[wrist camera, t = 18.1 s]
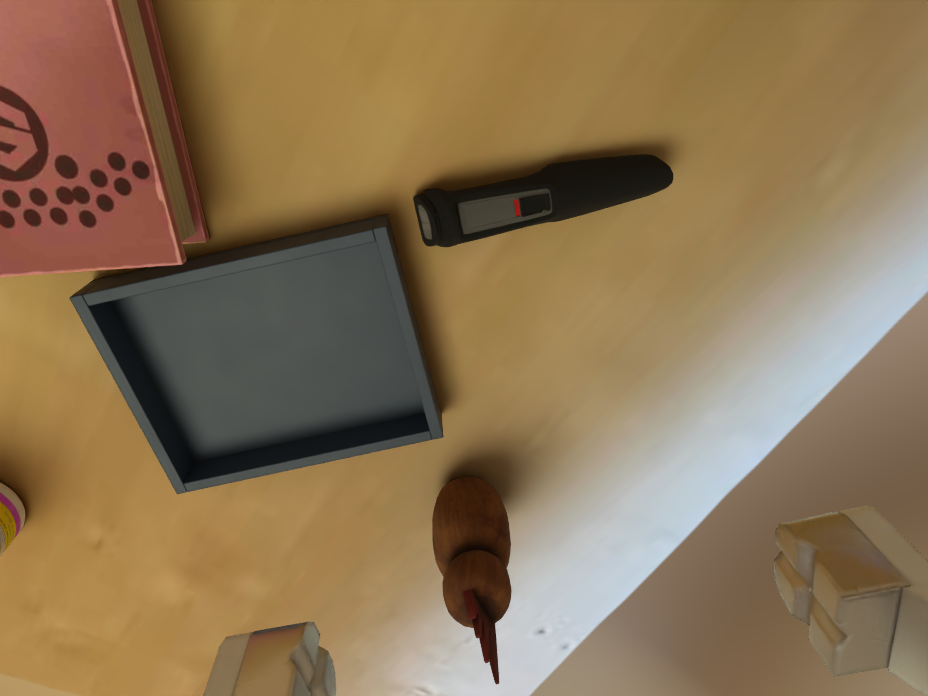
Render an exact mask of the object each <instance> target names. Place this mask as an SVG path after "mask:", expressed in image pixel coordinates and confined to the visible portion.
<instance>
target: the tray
mask: <svg viewBox="0 0 928 696" xmlns="http://www.w3.org/2000/svg"><path fill="white" fill-rule="evenodd" d="M186 260H187V261H186V262H185V263H184V264H182V265H168V266H155V267H150V268H146V269H141V270H137V271H132V272H128V273H124V274H119V275H115V276H110V277H106V278H101V279H97V280H93V281H91V282H90V283H89V284H87V285H86V286H85V287H83V288H82V289H81V290H79V291H78V292H76V293H75V294H74V295H72V296H71V297H70V300H71V302H72V303H73V305H74V307H75V309H76V311H77V312H78V314H79V316H80V318H81V320H82V322H83V323H84V325H85V327H86V329H87V331H88V333H89V334H90V336H91V338H92V340H93V342H94V343H95V345H96V347H97V349H98V351H99V353H100V354H101V356H102V358H103V360H104V362H105V364H106V365H107V367H108V369H109V371H110V373H111V374H112V376H113V378H114V380H115V382H116V384H117V385H118V387H119V389H120V391H121V393H122V395H123V396H124V398H125V400H126V402H127V404H128V405H129V407H130V409H131V411H132V413H133V415H134V416H135V418H136V420H137V422H138V424H139V426H140V427H141V429H142V431H143V433H144V435H145V436H146V438H147V440H148V442H149V444H150V446H151V447H152V449H153V451H154V453H155V455H156V457H157V458H158V460H159V462H160V464H161V466H162V467H163V469H164V471H165V473H166V475H167V477H168V478H169V480H170V482H171V484H172V486H173V488H174V489H175V491H176V493H177V494H180V493H185V492H190V491H194V490H199V489H204V488H208V487H213V486H218V485H222V484H227V483H232V482H236V481H241V480H246V479H250V478H255V477H260V476H264V475H269V474H274V473H278V472H283V471H288V470H292V469H297V468H302V467H306V466H311V465H316V464H321V463H325V462H330V461H335V460H339V459H344V458H349V457H353V456H358V455H363V454H367V453H372V452H377V451H381V450H386V449H391V448H395V447H400V446H405V445H409V444H414V443H419V442H423V441H428V440H432V439H438V438H442V437H443V427H442V414H441V410H440V407H439V403H438V399H437V395H436V392H435V388H434V384H433V380H432V377H431V373H430V369H429V365H428V362H427V358H426V354H425V351H424V347H423V343H422V339H421V336H420V332H419V328H418V324H417V321H416V317H415V313H414V309H413V306H412V302H411V298H410V295H409V291H408V287H407V283H406V280H405V276H404V272H403V268H402V265H401V261H400V257H399V253H398V250H397V246H396V242H395V239H394V235H393V231H392V227H391V224H390V220H389V216H388V214H385V215H381V216H376V217H372V218H367V219H363V220H359V221H354V222H350V223H345V224H341V225H336V226H332V227H328V228H323V229H319V230H314V231H310V232H305V233H301V234H297V235H292V236H288V237H283V238H279V239H274V240H270V241H265V242H261V243H257V244H252V245H248V246H243V247H239V248H234V249H230V250H226V251H221V252H217V253H212V254H208V255H203V256H199V257H195V258H190V259H186Z"/></svg>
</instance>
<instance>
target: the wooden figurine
mask: <svg viewBox="0 0 928 696" xmlns="http://www.w3.org/2000/svg"><path fill="white" fill-rule="evenodd" d="M433 548H434V554H435V560H436V563H437V565H438V567H439V570H440V571H441V573H442V575H443V577H444V578H443V597H444V601H445V604H446V607H447V609H448V612H449V613H450V615H451V616H452V617H453V618H454V619H455V620H456V621H457V622H459V623H460V624H462V625H463V626H466V627H471V628H474V631H475V636H476V638H479V639H480V644H481V648H482V653H483V657H484V661H485V663H488V662H490V665H491V669H492V673H493V677H494V681H495V683H496V684H499V672H498V658H497V643H496V631H495V623H496V622H497V621H499V620H500V619H501V618H502V617H503V616H504V614H505V613H506V611H507V609H508V607H509V604H510V600H511V584H510V579H509V575H508V571H507V569H506V568H507V566H508V563H509V557H510V548H511V541H510V531H509V522H508V517H507V513H506V510H505V508H504V505H503V502H502V500H501V498H500V496H499V494H498V493H497V491H496V490H495V489H494V488H493V487H492V486H491V485H490V484H488V483H487V482H485V481H484V480H482V479H479V478H475V477H461V478H458V479H455V480H452V481H450V482H449V483H448V484H447V485H446V486H445V487H443V489H442V490H441V491H440V493H439V495H438V497H437V500H436V504H435V507H434V512H433Z"/></svg>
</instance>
